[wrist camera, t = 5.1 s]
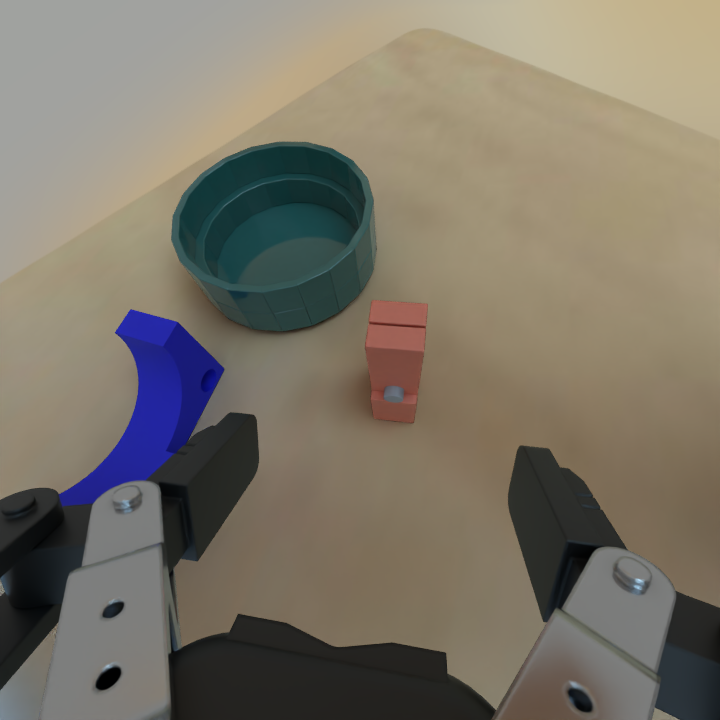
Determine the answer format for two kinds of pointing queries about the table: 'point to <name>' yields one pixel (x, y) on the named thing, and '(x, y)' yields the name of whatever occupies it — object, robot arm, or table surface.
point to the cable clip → (154, 403)
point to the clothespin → (395, 357)
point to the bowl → (278, 234)
